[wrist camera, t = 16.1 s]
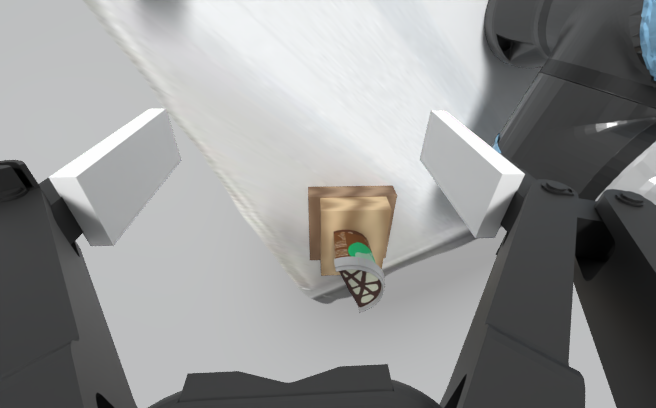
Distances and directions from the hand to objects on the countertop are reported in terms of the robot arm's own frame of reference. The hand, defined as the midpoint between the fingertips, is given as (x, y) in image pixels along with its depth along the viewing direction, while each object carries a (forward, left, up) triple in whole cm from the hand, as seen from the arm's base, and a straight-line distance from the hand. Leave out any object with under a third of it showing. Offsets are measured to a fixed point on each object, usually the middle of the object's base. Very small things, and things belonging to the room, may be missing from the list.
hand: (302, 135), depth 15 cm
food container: (-9, +31, -25) cm, 40 cm away
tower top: (-8, +31, -28) cm, 43 cm away
